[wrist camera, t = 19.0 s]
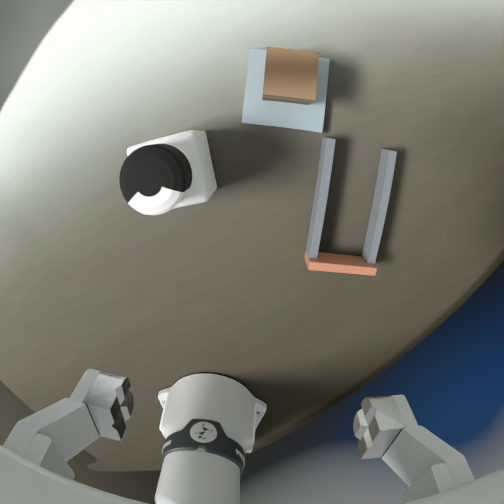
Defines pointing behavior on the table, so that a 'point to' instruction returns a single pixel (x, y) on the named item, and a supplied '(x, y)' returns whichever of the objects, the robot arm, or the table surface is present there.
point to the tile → (282, 112)
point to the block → (290, 76)
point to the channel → (376, 221)
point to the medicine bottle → (168, 173)
